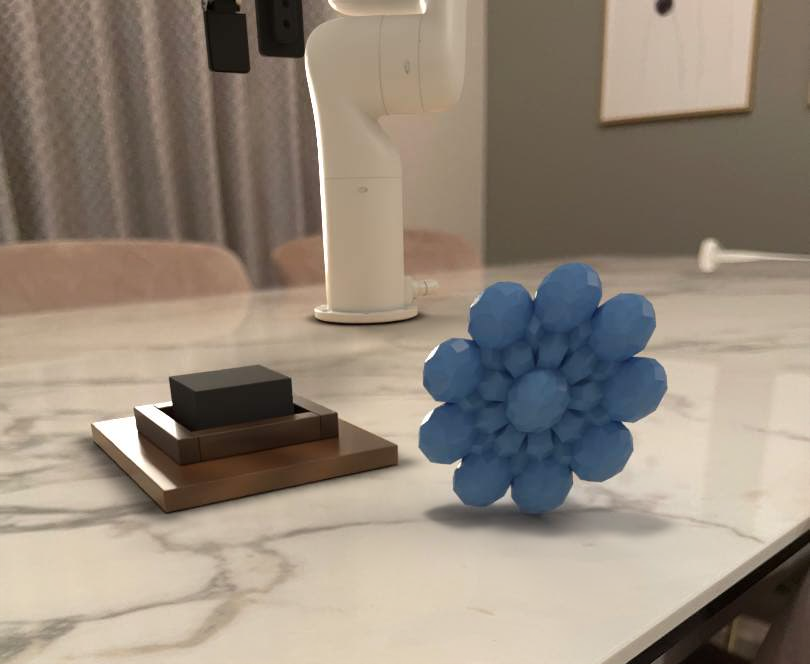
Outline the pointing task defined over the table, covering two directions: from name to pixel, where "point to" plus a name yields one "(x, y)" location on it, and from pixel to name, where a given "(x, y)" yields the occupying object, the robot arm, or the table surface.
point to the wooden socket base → (237, 453)
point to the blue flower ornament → (541, 390)
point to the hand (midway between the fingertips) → (254, 65)
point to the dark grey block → (230, 397)
